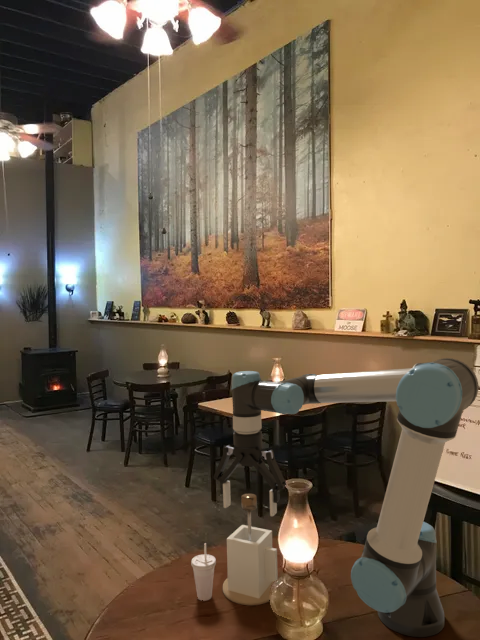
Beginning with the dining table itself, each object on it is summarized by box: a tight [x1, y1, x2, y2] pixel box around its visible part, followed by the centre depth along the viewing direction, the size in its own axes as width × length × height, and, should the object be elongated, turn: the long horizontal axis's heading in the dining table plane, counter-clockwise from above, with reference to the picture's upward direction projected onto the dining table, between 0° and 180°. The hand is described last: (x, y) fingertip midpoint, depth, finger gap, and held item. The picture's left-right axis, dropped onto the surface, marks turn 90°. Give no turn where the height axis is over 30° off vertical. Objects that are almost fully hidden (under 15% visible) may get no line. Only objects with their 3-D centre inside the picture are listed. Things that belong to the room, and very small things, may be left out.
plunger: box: [240, 493, 258, 542], centre depth 135 cm, size 6×6×22 cm
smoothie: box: [190, 542, 217, 602], centre depth 132 cm, size 6×6×14 cm
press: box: [222, 524, 279, 606], centre depth 136 cm, size 15×15×15 cm
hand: (249, 510), depth 135 cm, fingers open, 13 cm apart
